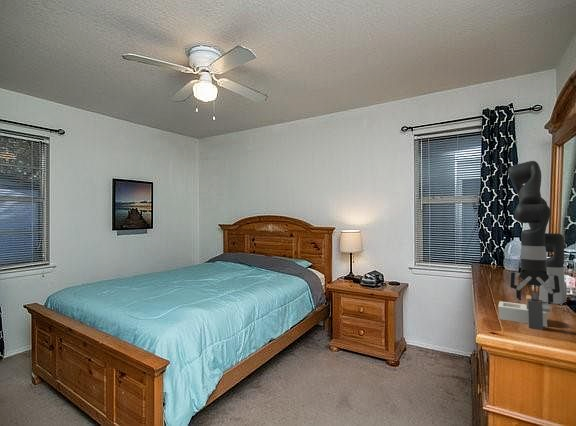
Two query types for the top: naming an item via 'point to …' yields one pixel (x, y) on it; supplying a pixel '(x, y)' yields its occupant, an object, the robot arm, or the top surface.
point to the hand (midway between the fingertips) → (534, 301)
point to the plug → (535, 312)
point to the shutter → (544, 307)
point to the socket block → (516, 312)
